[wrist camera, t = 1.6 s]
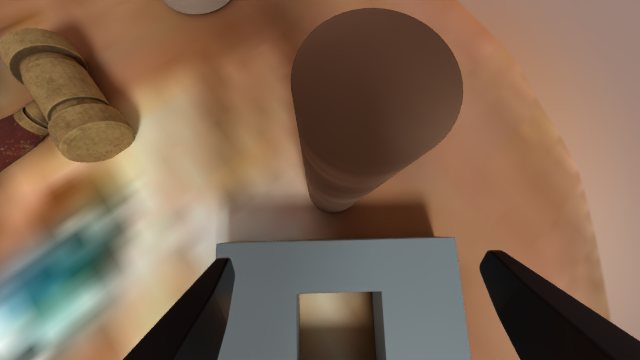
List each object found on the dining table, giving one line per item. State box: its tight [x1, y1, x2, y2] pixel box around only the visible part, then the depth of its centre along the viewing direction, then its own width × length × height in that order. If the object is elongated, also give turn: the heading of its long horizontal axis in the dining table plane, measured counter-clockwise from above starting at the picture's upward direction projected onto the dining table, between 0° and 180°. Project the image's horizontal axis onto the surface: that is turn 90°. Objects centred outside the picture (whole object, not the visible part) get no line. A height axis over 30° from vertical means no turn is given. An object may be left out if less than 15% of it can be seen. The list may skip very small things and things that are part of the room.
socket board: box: [216, 237, 471, 360], centre depth 17 cm, size 12×16×3 cm
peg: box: [291, 8, 463, 213], centre depth 13 cm, size 4×4×15 cm
